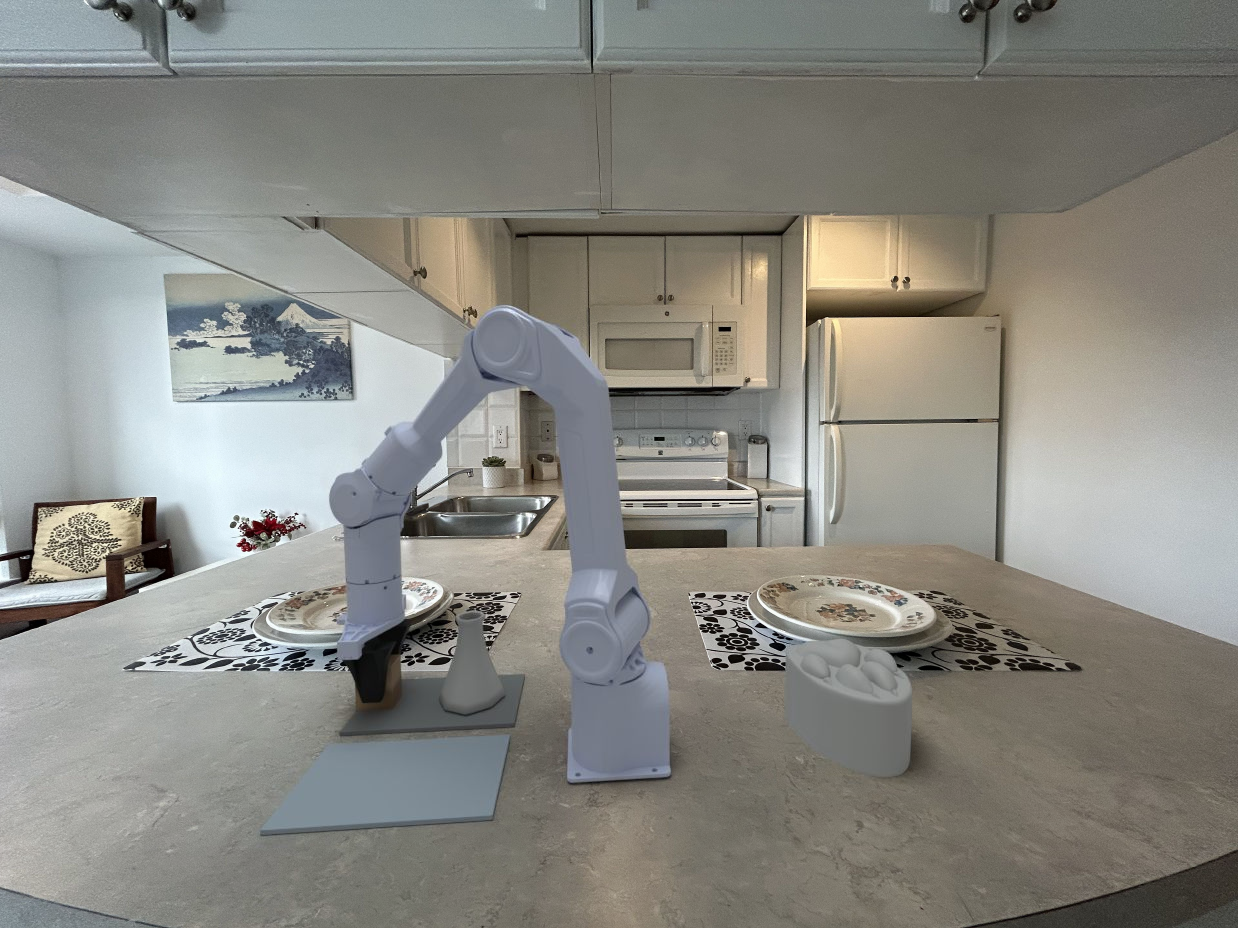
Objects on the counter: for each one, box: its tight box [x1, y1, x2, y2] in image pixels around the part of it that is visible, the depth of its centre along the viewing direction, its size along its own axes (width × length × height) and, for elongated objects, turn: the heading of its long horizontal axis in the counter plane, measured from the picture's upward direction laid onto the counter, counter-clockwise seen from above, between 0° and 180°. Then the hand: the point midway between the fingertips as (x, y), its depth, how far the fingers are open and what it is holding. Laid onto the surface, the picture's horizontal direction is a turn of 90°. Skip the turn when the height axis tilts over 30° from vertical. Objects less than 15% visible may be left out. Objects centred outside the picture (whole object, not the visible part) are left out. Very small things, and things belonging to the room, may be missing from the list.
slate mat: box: [259, 734, 511, 836], centre depth 46 cm, size 18×11×1 cm, turn 95°
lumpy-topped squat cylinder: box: [784, 638, 913, 778], centre depth 52 cm, size 10×13×9 cm
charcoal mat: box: [339, 654, 526, 737], centre depth 59 cm, size 18×11×5 cm, turn 95°
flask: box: [439, 609, 506, 715], centre depth 59 cm, size 7×7×10 cm
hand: (378, 692), depth 58 cm, fingers closed on charcoal mat, 3 cm apart
